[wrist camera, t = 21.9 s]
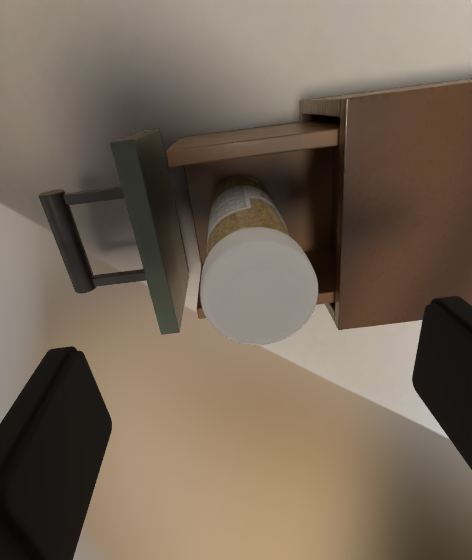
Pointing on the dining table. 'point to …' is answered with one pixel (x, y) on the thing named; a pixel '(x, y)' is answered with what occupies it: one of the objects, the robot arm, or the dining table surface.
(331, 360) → the dining table surface
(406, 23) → the dining table surface
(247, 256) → the sprinkles bottle
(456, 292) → the cabinet
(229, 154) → the drawer
